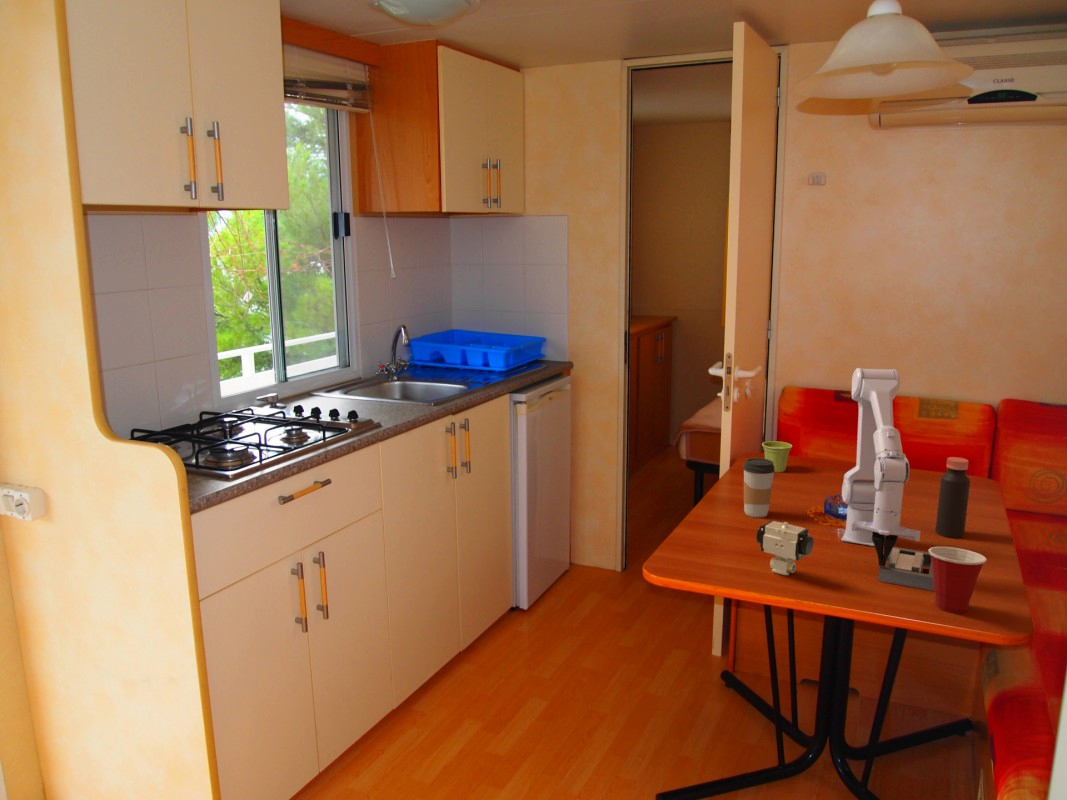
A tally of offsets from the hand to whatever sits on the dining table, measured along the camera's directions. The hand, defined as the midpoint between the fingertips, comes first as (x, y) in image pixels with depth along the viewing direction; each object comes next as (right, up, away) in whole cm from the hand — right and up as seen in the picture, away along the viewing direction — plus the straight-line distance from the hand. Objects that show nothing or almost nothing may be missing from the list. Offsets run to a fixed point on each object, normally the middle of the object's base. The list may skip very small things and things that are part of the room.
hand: (882, 564), depth 197 cm
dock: (+4, -2, -2) cm, 5 cm away
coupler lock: (+4, -2, -2) cm, 5 cm away
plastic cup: (+6, -5, -20) cm, 21 cm away
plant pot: (-2, +15, +82) cm, 83 cm away
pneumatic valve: (-24, -2, -3) cm, 24 cm away
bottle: (+27, +3, +24) cm, 36 cm away
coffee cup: (-19, +6, +38) cm, 43 cm away
